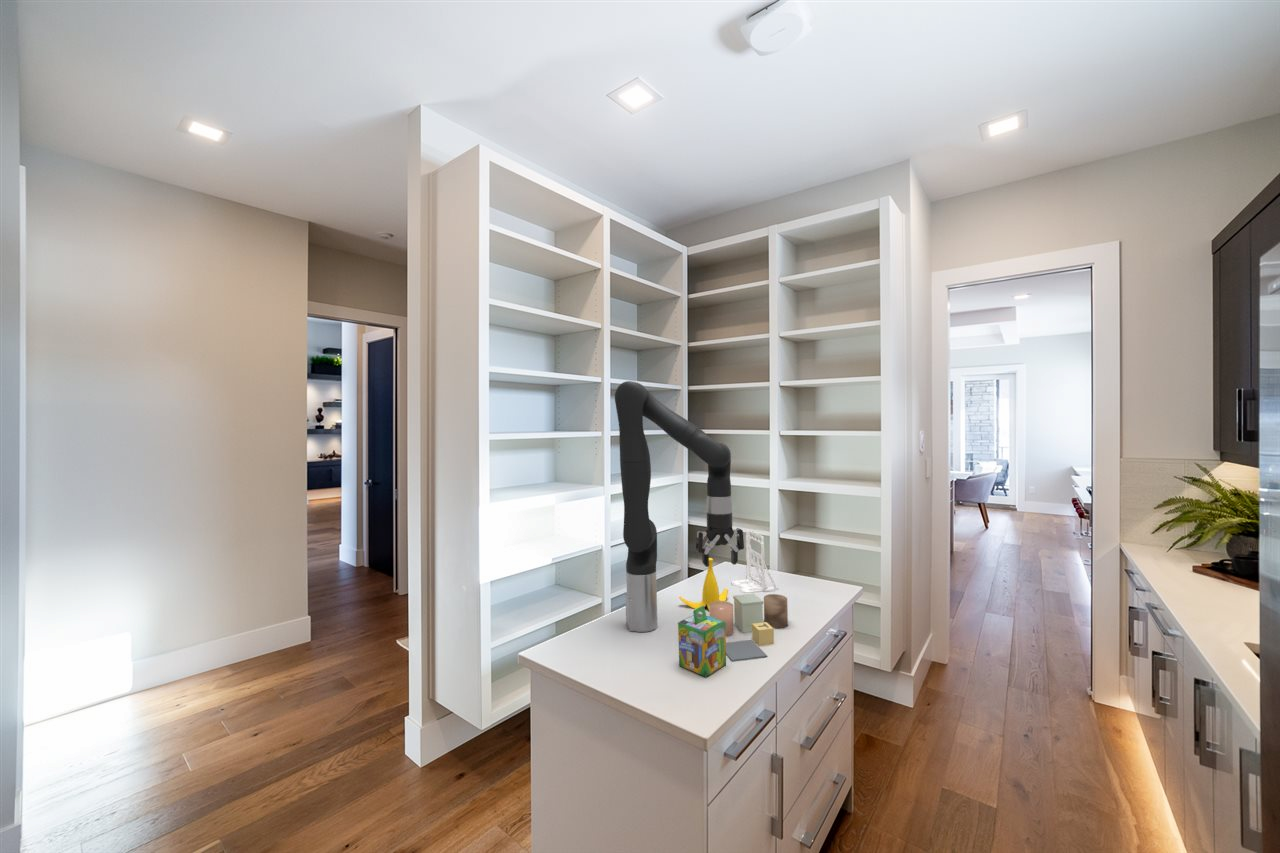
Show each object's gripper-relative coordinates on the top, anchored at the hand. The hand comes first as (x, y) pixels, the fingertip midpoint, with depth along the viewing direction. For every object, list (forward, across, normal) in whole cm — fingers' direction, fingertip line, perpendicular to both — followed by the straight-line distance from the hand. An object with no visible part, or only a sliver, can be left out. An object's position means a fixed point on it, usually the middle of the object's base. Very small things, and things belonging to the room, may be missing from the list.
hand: (720, 564), depth 153 cm
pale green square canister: (+20, +9, +1) cm, 22 cm away
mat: (+20, +1, -13) cm, 24 cm away
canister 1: (+20, 0, 0) cm, 20 cm away
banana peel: (+20, +4, +17) cm, 27 cm away
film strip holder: (+20, +26, +35) cm, 48 cm away
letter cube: (+20, +9, -9) cm, 24 cm away
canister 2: (+20, +18, +1) cm, 27 cm away
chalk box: (+20, -12, -18) cm, 30 cm away
